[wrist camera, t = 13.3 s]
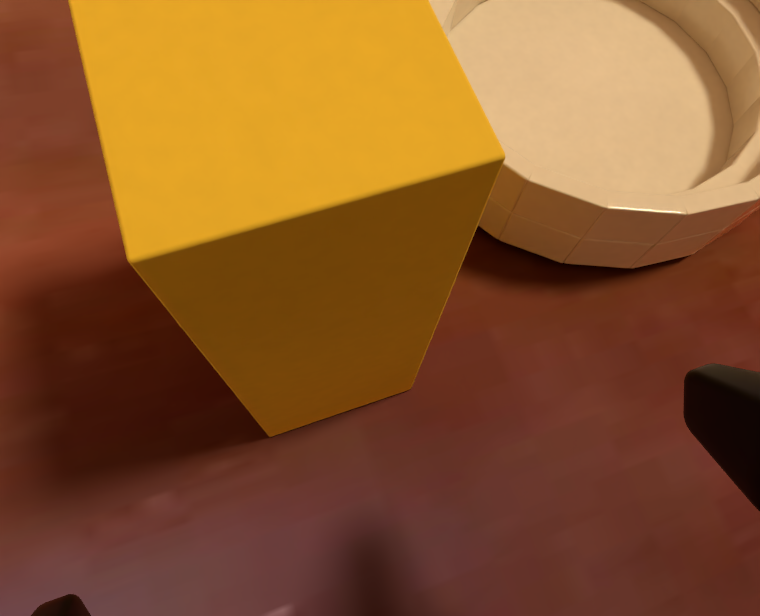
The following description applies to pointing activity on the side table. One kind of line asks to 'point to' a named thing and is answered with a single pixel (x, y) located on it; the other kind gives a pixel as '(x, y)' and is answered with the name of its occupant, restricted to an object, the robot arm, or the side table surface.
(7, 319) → the side table surface
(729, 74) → the bowl
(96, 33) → the sponge
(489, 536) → the side table surface
